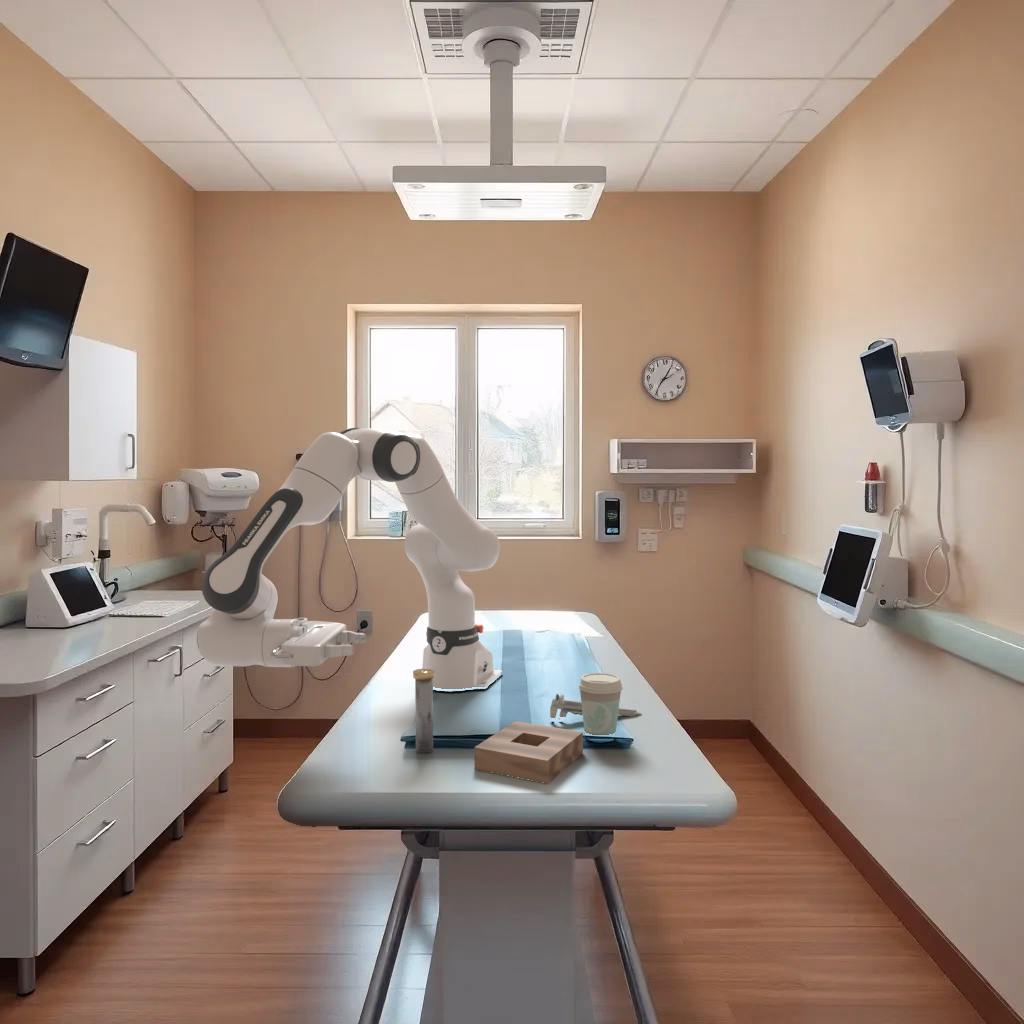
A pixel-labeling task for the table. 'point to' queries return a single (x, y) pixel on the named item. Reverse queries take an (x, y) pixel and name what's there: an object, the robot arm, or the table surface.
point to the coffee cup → (600, 702)
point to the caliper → (579, 708)
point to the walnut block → (529, 751)
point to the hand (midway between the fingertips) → (359, 644)
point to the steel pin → (424, 709)
